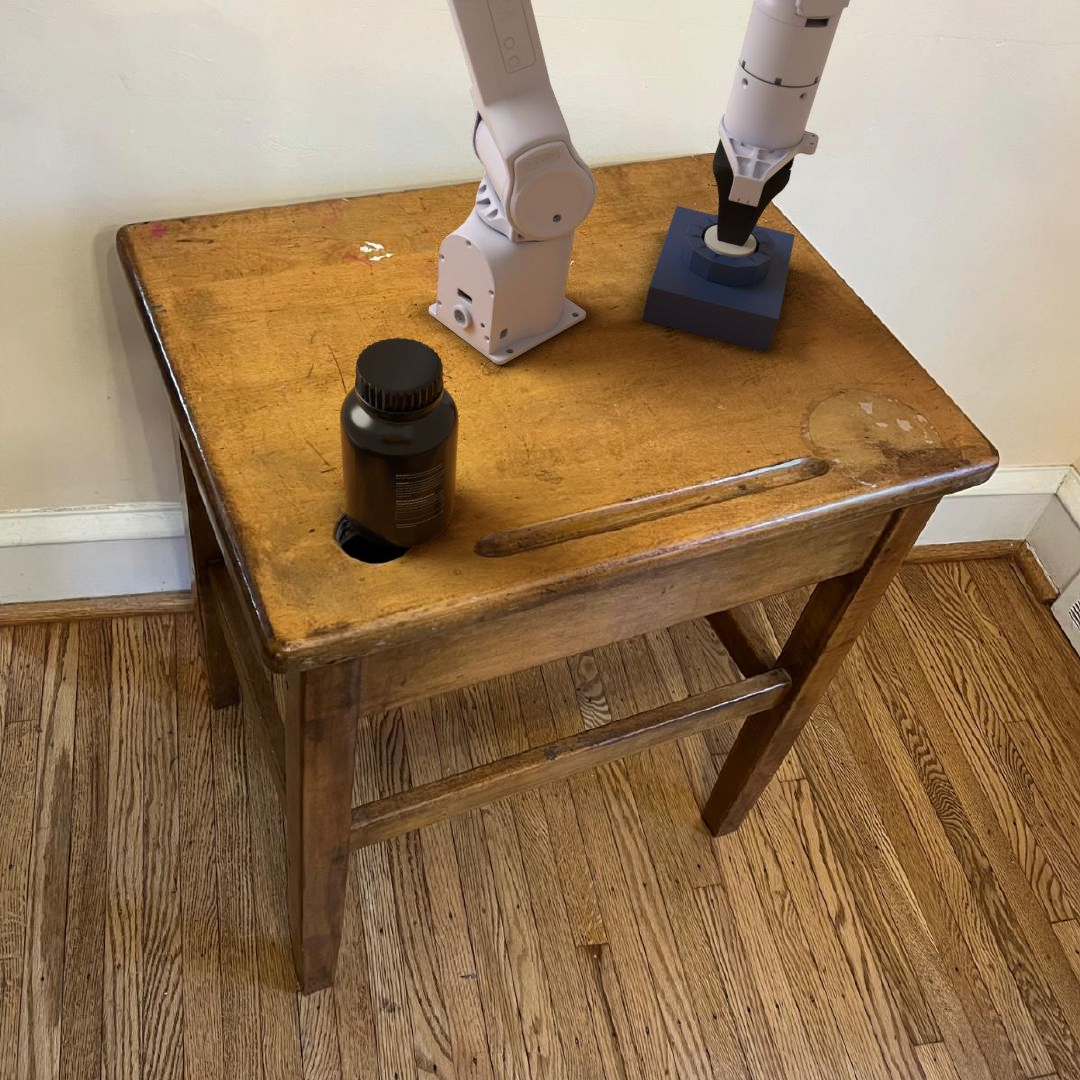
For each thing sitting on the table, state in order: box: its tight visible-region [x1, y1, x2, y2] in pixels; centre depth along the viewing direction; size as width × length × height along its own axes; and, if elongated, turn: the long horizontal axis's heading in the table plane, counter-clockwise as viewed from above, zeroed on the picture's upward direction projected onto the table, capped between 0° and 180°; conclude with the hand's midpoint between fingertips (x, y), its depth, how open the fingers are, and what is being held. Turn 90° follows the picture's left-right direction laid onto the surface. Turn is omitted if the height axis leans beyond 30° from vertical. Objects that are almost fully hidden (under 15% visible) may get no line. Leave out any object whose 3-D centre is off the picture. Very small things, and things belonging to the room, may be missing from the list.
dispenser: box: [641, 205, 796, 353], centre depth 85 cm, size 12×10×5 cm
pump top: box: [704, 225, 756, 258], centre depth 84 cm, size 4×4×2 cm
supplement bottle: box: [339, 337, 460, 549], centre depth 63 cm, size 7×7×12 cm
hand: (731, 239), depth 83 cm, fingers closed, pressing on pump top
